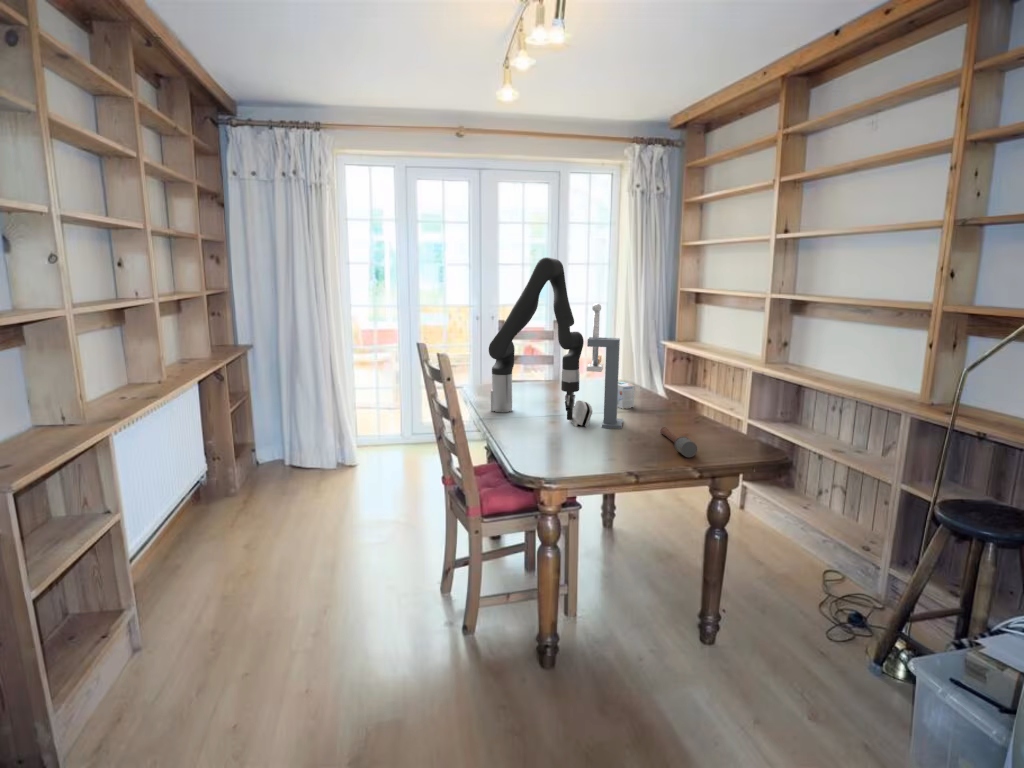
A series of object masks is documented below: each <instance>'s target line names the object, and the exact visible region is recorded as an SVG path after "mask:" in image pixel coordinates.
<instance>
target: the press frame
mask: <svg viewBox="0 0 1024 768" xmlns="http://www.w3.org/2000/svg"><path fill="white" fill-rule="evenodd" d="M620 340H621V339H620V337H600V336H599V339H593V336H589V337H588V338H587V347H589V348H591V347H592V348H593V347H599V348H605V369H604V370H605V372H604V374H605V375H604V376H605V378H604V399H603V400H604V403H603V420H602V423H601V428H602V429H614V428H615V429H617V430H622V428H623V425H624V419H623V418H617V417H618V407H617V399H618V382H619V374H620V373H619V368H620V366H619V364H620V347H621V346H620V344H621V342H620ZM615 429H614V430H615Z"/></svg>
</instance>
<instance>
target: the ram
mask: <svg viewBox="0 0 1024 768" xmlns="http://www.w3.org/2000/svg"><path fill="white" fill-rule="evenodd" d="M592 311H593V320H592V321H593V323H592V325H593V327H592V337H593V339H599V337H600V313H601V311H602V306H601V304H600V303H594V304H593V305H592ZM599 348H600V347H592V353H591V354H592V357H591V358H592V359H591V360H592V361H591V362H589V363H588V364H587V365H586V372H597V373H602V372H603V369H604V363H602V355H599Z"/></svg>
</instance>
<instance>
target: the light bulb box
mask: <svg viewBox="0 0 1024 768" xmlns="http://www.w3.org/2000/svg"><path fill="white" fill-rule="evenodd" d="M635 386H636V385H634V384H631V383H628V382H624V381H618V399H617V408H619V409H621V408H622V410H624V408H626V409H632V408H631V407H633V408H634V407H635V406H634V405H635Z"/></svg>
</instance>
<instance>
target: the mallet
mask: <svg viewBox="0 0 1024 768" xmlns="http://www.w3.org/2000/svg"><path fill="white" fill-rule="evenodd" d="M660 434H661V435H662V434H663V436H664V437H667V439H669V440H670V441H672V442H673V443H674V445H673V446H674V449H675V451H676V452H678V453H680V454H681V455H683V456H684V457H685V458H692V457H694V456H695V455H696V454H697V453H698V446H697V444H696V443H695V442H693V441H692V440H690V438H689V437H687V436H683V435H682V436H679V437H678V436H677V435H675V434H674V433H672V432H671V431H670V430H669V429H668V427H666V426H665V427H662V428H661V429H660Z"/></svg>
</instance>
